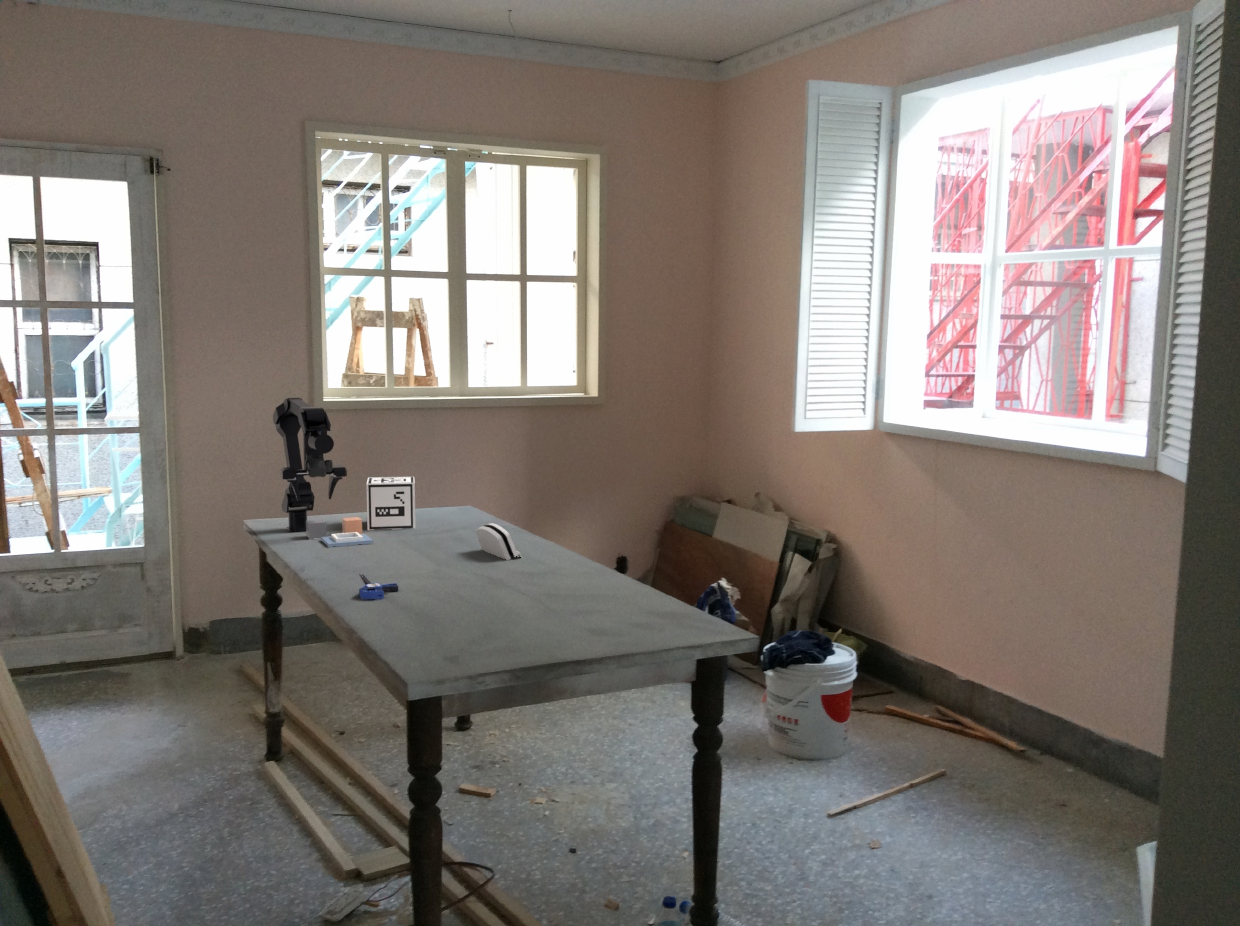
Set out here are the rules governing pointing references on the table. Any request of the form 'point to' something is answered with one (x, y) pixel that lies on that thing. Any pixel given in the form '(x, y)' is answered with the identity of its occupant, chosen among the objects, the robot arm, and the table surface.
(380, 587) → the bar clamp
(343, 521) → the terracotta cube
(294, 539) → the table surface
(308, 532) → the charcoal cube
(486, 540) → the striped white half-disc
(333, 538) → the board
